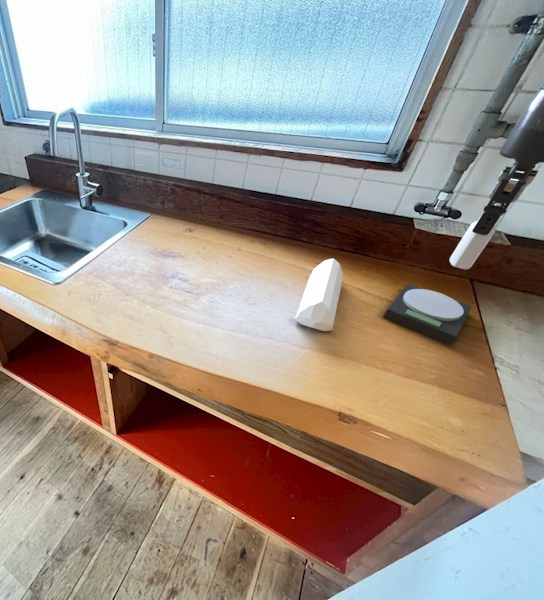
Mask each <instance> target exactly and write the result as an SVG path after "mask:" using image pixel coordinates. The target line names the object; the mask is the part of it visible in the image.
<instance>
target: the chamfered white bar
mask: <svg viewBox="0 0 544 600" xmlns="http://www.w3.org/2000/svg"><path fill="white" fill-rule="evenodd" d="M343 273H344V272H343V269H342V267H341V263H339V262H338V261H337V260H336V259H335V258H334V257H333V258H329V259H325V260H323V261H322V262H321V263H319V264H318V265H317V266H316V267H314V268H313V270H312V272H311V273H310V275H309V278H308V280H307V283H306V286H305V289H304V292H303V295H302V298H301V301H300V303H299V307H298V308H297V309H298V310H297V312H296V316H295V318H294V320H295V321H296V322H298V324H299V325H302V326H304V327H307V328H311V329H314V330H318V331H322V332H329V331H333V329H334V323H335V319H336V314H337V309H338V305H339V299H340V294H341V289H342V286H343V285H342V284H343V279H344V278H343V277H344V274H343Z"/></svg>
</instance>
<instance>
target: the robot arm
mask: <svg viewBox="0 0 544 600" xmlns="http://www.w3.org/2000/svg"><path fill="white" fill-rule="evenodd" d="M499 154H500V156H502V157H504V158H507V159H512V160H514V161H515V162H513V164H512V166H508V165H506V166H505V167H504V169H503V170H502V172H501V173H500V174H499V176H498V178H497V183H496V184H495V186H494V187H493V189H492V191H490V193H489V196H488V197H489V200H488V201H489V202H488V203H487V204H486V205H485V206H484V208H483V209H482V210H483V212H484V213H483V212H482V213H483V214H482V213H481V214H482V216H481V215H480V216H481V218H480V217H479V218H480V219H479V218H478V219H479V221H478V220H477V221H478V222H477V224H476V225H475V227H474V229H473V230H472V231H473V232H474V233H477V234H481V235H488V234H489V233H490V231H491V230H492V228H493V227H494V225H495V226H496V224H497V222H498V221H499V220H500V218H501V217H503V215H505V214H506V213H507V211H508V208H509V206H510V205H511V204H512V203H515V202H517V201H518V200H519V198H520V196H521V195H522V194H523V192H524V191H525V189H526V188H527V186H529V185H531V184H532V182H533V181H534V179H535V178H536V176H537V175H538V173H539V170H537V169H535V168H536V165H538V164H540V163H544V81H542V83H541V85H540V88H539V89H538V90H537V91H536V93H535V94H534V95H533V97H532V98H531V100H530V101H529V102H528V103H527V105H526V106H525V107H524V110H523V111H522V113H521V115H520V116H519V118H518V120H517V121H516V123H515V125H514V126H513V128H512V129H511V131H510V133H509V134H508V136H507V138H506V140H505V141H504V143H503V144H502V146H501V148H500V150H499ZM496 203H500V204H501V206H495V204H496Z"/></svg>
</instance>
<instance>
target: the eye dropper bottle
mask: <svg viewBox="0 0 544 600" xmlns="http://www.w3.org/2000/svg"><path fill="white" fill-rule="evenodd" d="M495 206H501V204H500V203H496V204H495ZM483 213H484V212H482V213H481V215H480V216H479V218H478V219H477V220H476V221H473V222H472V223H471V224H470V225H469V227H468V228H467V230H466V231H465V233H464V235H463V236H462V238H461V239H460V241H459V242H458V244H457V246H456V247H455V249H454V250H453V252H452V254H451V255H450V257H449V263H450V265H451V266H452V267H454V268H458V269H462V270H469V269H471V268H472V267H473V265H474V264H475V262H476V261H477V259H478V258H479V256H480V255H481V253H482V252H483V251H484V249H485V248H486V246H487V245H488V244H489V241H490V240H491V238H492V237H493V236H494V234H495V233H496V224H495V225H494V227H493V228H492V230H491V231H490V233H489V234H488V235H481V234H477V233H474V232H473V231H472V230H473V229H474V227H475V225H476V224H477V222H478V221H479V219H480V218H481V216H482V214H483Z"/></svg>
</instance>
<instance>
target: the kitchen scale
mask: <svg viewBox="0 0 544 600" xmlns="http://www.w3.org/2000/svg"><path fill="white" fill-rule="evenodd" d="M472 308H473V305H471V304H467V303H465V302H462V301H459V300H456V299H453V298H452V297H450V296H448V295H446V294H443V293H440V292H438V291H435V290H430V289H425V288H423V287H419V286H416V285H413V284H410V283H407V285H406V286H405V287H404V288H403V289H402V291H401V292H400V293H399V294H398V295H397V296H396V298H395V299H394V300H393V302H392V303H391V304H390V305H389V307H388V308H387V309H386V311H385V313H384V314H383V316H382V318H383V319H386V320H388V321H391V322H394V323H396V324H398V325H400V326H402V327H405V328H408V329H410V330H412V331H414V332H417V333H420V334H422V335H424V336H427V337H429V338H432V339H434V340H436V341H438V342H441V343H443V344H446V345H448V346H451V345H452V343H453V342H454V341H455V340H456V338H457V337H458V335H459V332H460V331H461V330H462V328H463V325H464V323H465V322H466V319H467V317H468V315H469V313H470V312H471V310H472Z"/></svg>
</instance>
